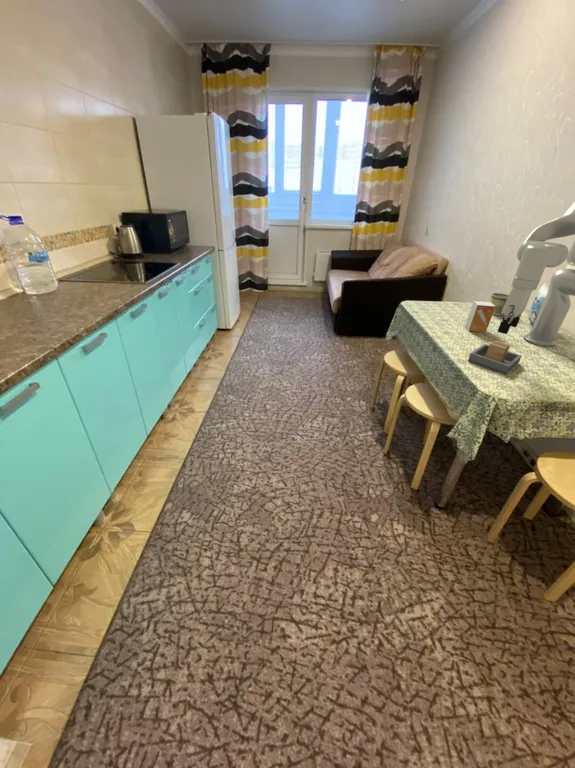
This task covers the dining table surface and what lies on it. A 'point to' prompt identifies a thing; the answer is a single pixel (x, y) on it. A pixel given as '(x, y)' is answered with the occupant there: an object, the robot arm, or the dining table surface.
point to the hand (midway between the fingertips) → (506, 329)
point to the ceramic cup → (498, 302)
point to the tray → (503, 367)
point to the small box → (479, 316)
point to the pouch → (538, 303)
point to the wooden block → (497, 351)
